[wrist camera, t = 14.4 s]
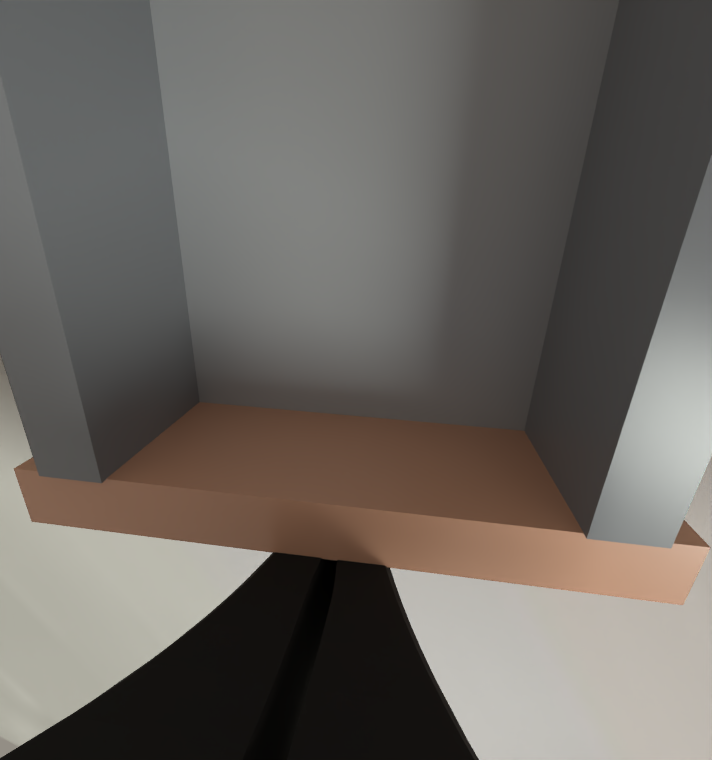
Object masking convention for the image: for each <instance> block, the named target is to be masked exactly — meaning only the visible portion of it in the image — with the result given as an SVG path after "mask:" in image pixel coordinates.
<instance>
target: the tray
mask: <svg viewBox="0 0 712 760" xmlns="http://www.w3.org/2000/svg"><path fill="white" fill-rule="evenodd" d="M0 354H1V357H2V360H3V364H4V367H5V370H6V373H7V376H8V379H9V383H10V386H11V389H12V392H13V395H14V398H15V401H16V405H17V408H18V411H19V414H20V417H21V420H22V424H23V427H24V430H25V433H26V436H27V439H28V443H29V446H30V449H31V452H32V455H33V458H34V462H35V465H36V468H37V471H38V474H39V476H43V477H51V478H60V479H69V480H78V481H86V482H95V483H103V482H104V481H105V480H106V478H108V477H109V476H110V475H111V474H113V473H114V472H115V471H116V470H117V469H119V468H120V467H121V466H122V465H124V464H125V463H126V462H127V461H128V460H130V459H131V458H132V457H133V456H134V455H136V454H137V453H138V452H139V451H141V450H142V449H143V448H144V447H145V446H147V445H148V444H149V443H150V442H152V441H153V440H154V439H155V438H156V437H158V436H159V435H160V434H161V433H162V432H164V431H165V430H166V429H167V428H169V427H170V426H171V425H172V424H173V423H175V422H176V421H177V420H178V419H180V418H181V417H182V416H183V415H184V414H186V413H187V412H188V411H189V410H190V409H192V408H193V407H194V406H195V405H197V404H198V403H199V402H205V403H216V404H227V405H238V406H250V407H261V408H272V409H284V410H295V411H306V412H318V413H329V414H340V415H352V416H363V417H374V418H385V419H397V420H408V421H419V422H431V423H442V424H453V425H465V426H476V427H487V428H499V429H510V430H521V431H525V433H526V435H527V436H528V438H529V440H530V441H531V443H532V445H533V447H534V448H535V450H536V452H537V453H538V455H539V457H540V459H541V460H542V462H543V464H544V465H545V467H546V469H547V471H548V472H549V474H550V476H551V477H552V479H553V481H554V483H555V484H556V486H557V488H558V489H559V491H560V493H561V495H562V496H563V498H564V500H565V501H566V503H567V505H568V507H569V508H570V510H571V512H572V514H573V515H574V517H575V519H576V520H577V522H578V524H579V526H580V527H581V529H582V531H583V532H584V535H585V537H586V539H592V540H601V541H610V542H618V543H627V544H636V545H645V546H653V547H662V548H672V546H673V544H674V541H675V539H676V537H677V534H678V532H679V530H680V528H681V525H682V523H683V521H684V518H685V516H686V514H687V511H688V509H689V507H690V504H691V502H692V500H693V498H694V495H695V493H696V491H697V488H698V486H699V484H700V481H701V479H702V477H703V475H704V472H705V470H706V468H707V465H708V463H709V461H710V458H711V456H712V0H0Z"/></svg>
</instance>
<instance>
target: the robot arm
mask: <svg viewBox="0 0 712 760" xmlns="http://www.w3.org/2000/svg"><path fill="white" fill-rule="evenodd" d="M0 760H479V759H478V757H477V756H476V754H475V752H474V751H473V749H472V747H471V745H470V744H469V742H468V740H467V738H466V736H465V734H464V733H463V731H462V729H461V727H460V725H459V723H458V721H457V719H456V717H455V716H454V714H453V712H452V710H451V708H450V706H449V704H448V702H447V700H446V699H445V697H444V695H443V693H442V691H441V689H440V687H439V685H438V683H437V681H436V679H435V677H434V675H433V673H432V671H431V669H430V667H429V665H428V663H427V661H426V658H425V656H424V654H423V652H422V650H421V648H420V645H419V643H418V641H417V639H416V636H415V634H414V632H413V629H412V627H411V625H410V622H409V620H408V617H407V615H406V612H405V610H404V607H403V604H402V602H401V599H400V596H399V593H398V591H397V588H396V585H395V582H394V579H393V576H392V573H391V570H390V567H386V566H385V565H377V564H368V563H360V562H352V561H344V560H337V561H335V560H328V559H322V558H319V557H311V556H302V555H294V554H286V553H278V552H275V553H272V554H271V555H270V556H269V557H268V558H267V559H266V560H265V561H264V562H263V563H262V565H261V566H260V567H259V568H258V569H257V570H256V571H255V572H254V573H253V574H252V575H251V576H250V577H249V578H248V579H247V580H246V581H245V582H244V583H243V584H242V585H241V586H239V587H238V588H237V589H236V590H235V591H234V592H233V593H232V594H231V595H230V596H229V597H228V598H227V599H225V600H224V601H223V602H222V603H221V604H220V605H219V606H217V607H216V608H215V609H214V610H213V611H212V612H211V613H210V614H208V615H207V616H206V617H205V618H204V619H202V620H201V621H200V622H199V623H197V624H196V625H195V626H194V627H192V628H191V629H190V630H189V631H187V632H186V633H185V634H184V635H183V636H181V637H180V638H179V639H178V640H176V641H175V642H174V643H173V644H171V645H170V646H169V647H167V648H166V649H165V650H163V651H162V652H161V653H159V654H158V655H157V656H155V657H154V658H153V659H151V660H150V661H149V662H147V663H146V664H144V665H143V666H141V667H140V668H139V669H137V670H136V671H134V672H133V673H131V674H130V675H129V676H127V677H126V678H124V679H123V680H121V681H120V682H119V683H117V684H116V685H114V686H113V687H111V688H110V689H109V690H107V691H106V692H104V693H103V694H101V695H100V696H99V697H97V698H96V699H94V700H93V701H91V702H90V703H88V704H87V705H85V706H84V707H82V708H81V709H79V710H78V711H76V712H74V713H73V714H71V715H70V716H68V717H66V718H65V719H63V720H62V721H60V722H58V723H57V724H55V725H53V726H52V727H50V728H49V729H47V730H45V731H44V732H42V733H40V734H39V735H37V736H36V737H34V738H32V739H31V740H29V741H27V742H26V743H24V744H23V745H21V746H19V747H18V748H16V749H15V750H13V751H11V752H10V753H8V754H6V755H5V756H3V757H1V758H0Z"/></svg>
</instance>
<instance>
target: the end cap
mask: <svg viewBox="0 0 712 760" xmlns="http://www.w3.org/2000/svg"><path fill="white" fill-rule="evenodd" d="M14 471H15V474H16V477H17V480H18V483H19V486H20V489H21V491H22V494H23V497H24V500H25V503H26V506H27V509H28V512H29V515H30V518H31V521H32V522H39V523H47V524H55V525H63V526H70V527H78V528H86V529H94V530H102V531H109V532H117V533H125V534H133V535H141V536H148V537H156V538H164V539H172V540H180V541H187V542H195V543H203V544H211V545H218V546H226V547H234V548H242V549H250V550H257V551H265V552H273V553H275V552H278V553H286V554H294V555H302V556H311V557H319V558H322V559H328V560H335V561H337V560H344V561H352V562H360V563H368V564H377V565H385V566H386V567H390V568H398V569H405V570H413V571H421V572H429V573H437V574H444V575H452V576H460V577H468V578H476V579H483V580H491V581H499V582H507V583H514V584H522V585H530V586H538V587H546V588H553V589H561V590H569V591H577V592H585V593H592V594H600V595H608V596H616V597H624V598H631V599H639V600H647V601H655V602H662V603H670V604H678V605H683V604H684V602H685V600H686V598H687V596H688V594H689V592H690V589H691V587H692V585H693V583H694V581H695V579H696V577H697V575H698V573H699V571H700V569H701V567H702V565H703V562H704V560H705V558H706V556H707V554H708V552H709V550H710V547H709V545H708V544H707V543H706V542H705V541H704V540H703V539H702V538H701V537H700V536H699V535H698V534H697V533H696V532H695V531H694V530H693V529H692V528H691V527H690V526H689V525H688V523H687V522H686V521H685V520H684V521H683V523H682V525H681V528H680V530H679V532H678V534H677V537H676V539H675V541H674V544H673V546H672V548H662V547H653V546H645V545H636V544H627V543H618V542H610V541H601V540H592V539H586V537H585V535H584V532H583V531H582V529H581V527H580V526H579V524H578V522H577V520H576V519H575V517H574V515H573V514H572V512H571V510H570V508H569V507H568V505H567V503H566V501H565V500H564V498H563V496H562V495H561V493H560V491H559V489H558V488H557V486H556V484H555V483H554V481H553V479H552V477H551V476H550V474H549V472H548V471H547V469H546V467H545V465H544V464H543V462H542V460H541V459H540V457H539V455H538V453H537V452H536V450H535V448H534V447H533V445H532V443H531V441H530V440H529V438H528V436H527V435H526V433H525V431H521V430H510V429H499V428H487V427H476V426H465V425H453V424H442V423H431V422H419V421H408V420H397V419H385V418H374V417H363V416H352V415H340V414H329V413H318V412H306V411H295V410H284V409H272V408H261V407H250V406H238V405H227V404H216V403H205V402H199V403H198V404H197V405H195V406H194V407H193V408H192V409H190V410H189V411H188V412H187V413H186V414H184V415H183V416H182V417H181V418H180V419H178V420H177V421H176V422H175V423H173V424H172V425H171V426H170V427H169V428H167V429H166V430H165V431H164V432H162V433H161V434H160V435H159V436H158V437H156V438H155V439H154V440H153V441H152V442H150V443H149V444H148V445H147V446H145V447H144V448H143V449H142V450H141V451H139V452H138V453H137V454H136V455H134V456H133V457H132V458H131V459H130V460H128V461H127V462H126V463H125V464H124V465H122V466H121V467H120V468H119V469H117V470H116V471H115V472H114V473H113V474H111V475H110V476H109V477H108V478H106V480H105V481H104V482H103V483H95V482H86V481H78V480H69V479H60V478H51V477H43V476H39V474H38V471H37V468H36V465H35V462H34V458H33V457H32V458H31V459H29V460H27V461H26V462H24V463H22V464H21V465H19V466H17V467H16V468H14Z"/></svg>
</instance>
